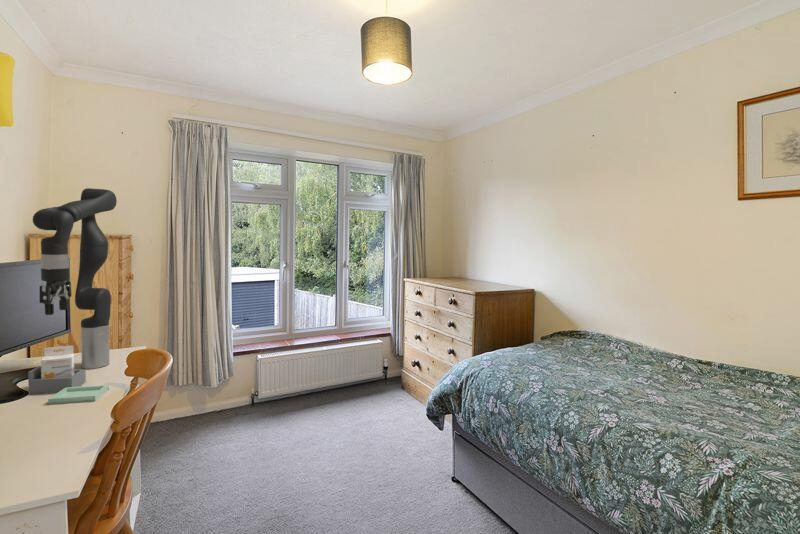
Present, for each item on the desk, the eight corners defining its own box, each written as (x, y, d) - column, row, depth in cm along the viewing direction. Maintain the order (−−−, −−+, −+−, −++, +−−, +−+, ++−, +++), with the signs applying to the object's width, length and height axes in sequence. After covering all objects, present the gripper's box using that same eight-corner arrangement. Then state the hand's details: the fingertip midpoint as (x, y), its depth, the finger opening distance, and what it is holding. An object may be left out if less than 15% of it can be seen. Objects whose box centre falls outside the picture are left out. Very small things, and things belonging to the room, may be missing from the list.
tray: (65, 392, 133) (65, 387, 133) (108, 389, 137) (108, 384, 137) (48, 404, 123) (48, 399, 123) (95, 401, 127) (95, 395, 127)
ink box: (40, 392, 132) (39, 351, 131) (44, 387, 136) (43, 347, 135) (72, 388, 137) (71, 348, 136) (74, 383, 141) (74, 345, 140)
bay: (45, 384, 139) (45, 363, 139) (85, 382, 143) (85, 361, 142) (28, 394, 130) (28, 371, 130) (71, 391, 134) (71, 369, 133)
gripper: (54, 265, 139) (55, 308, 141) (28, 268, 126) (30, 316, 127) (78, 265, 141) (79, 308, 143) (56, 269, 128) (57, 316, 129)
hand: (56, 312), depth 135 cm, fingers open, 8 cm apart
